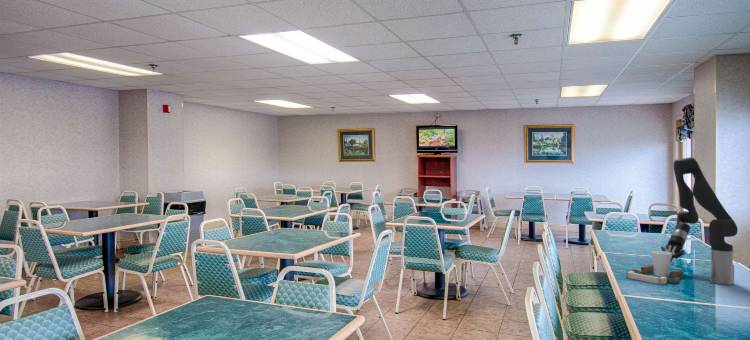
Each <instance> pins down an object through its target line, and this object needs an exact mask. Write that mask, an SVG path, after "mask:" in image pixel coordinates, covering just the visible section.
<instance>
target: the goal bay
mask: <svg viewBox="0 0 750 340" xmlns="http://www.w3.org/2000/svg"><path fill="white" fill-rule="evenodd" d="M625 277H626V279H627V278H628V279H631V280H636V281H642V282H645V283H646V282H647V283H651V284H655V285H664V284H668V283H667V277H658V276H652V275H648V274H646V275H642V274H637V273H635V271H629V272H628V271H626V273H625Z"/></svg>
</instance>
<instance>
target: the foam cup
mask: <svg viewBox="0 0 750 340" xmlns="http://www.w3.org/2000/svg"><path fill="white" fill-rule="evenodd" d="M651 257H652V258H651V259H652V265H653V266H654V272H653V273H654V277H658V278H661V277H666V276H669V275H670V267H671V263H672V262H671V258H672V253H670V252H668V251H665V252H664V251H662V250H653V251H651ZM670 262H671V263H670Z"/></svg>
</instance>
